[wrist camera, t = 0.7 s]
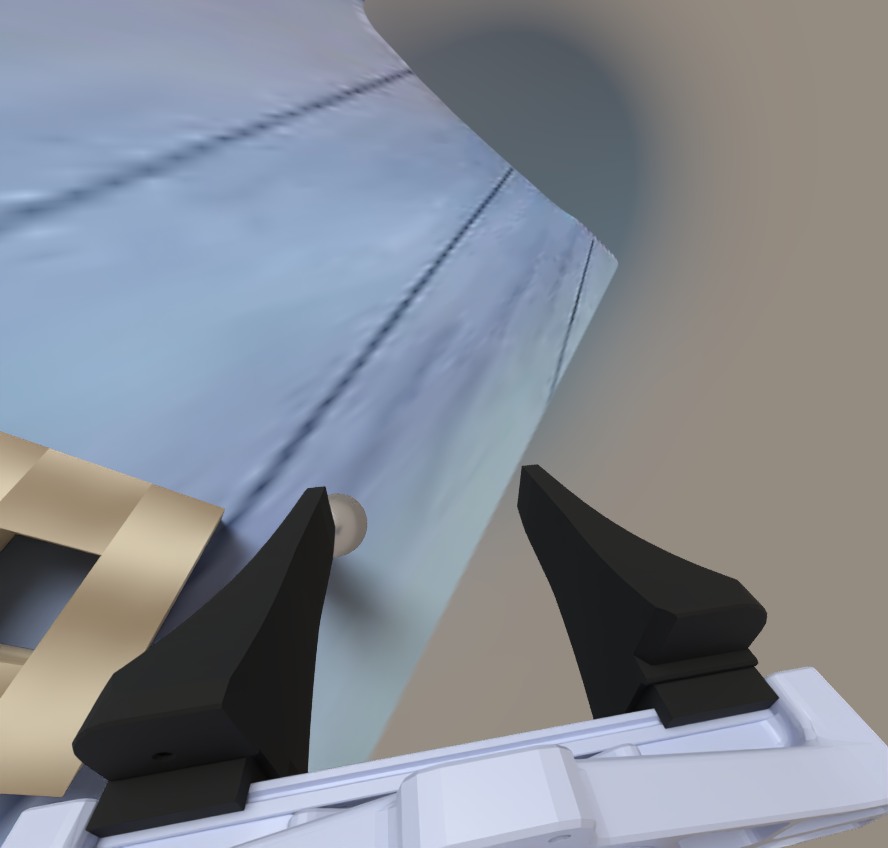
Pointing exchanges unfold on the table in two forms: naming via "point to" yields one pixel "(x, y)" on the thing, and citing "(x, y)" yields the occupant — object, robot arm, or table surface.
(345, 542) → the peg
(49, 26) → the table surface
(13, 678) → the knuckle block
